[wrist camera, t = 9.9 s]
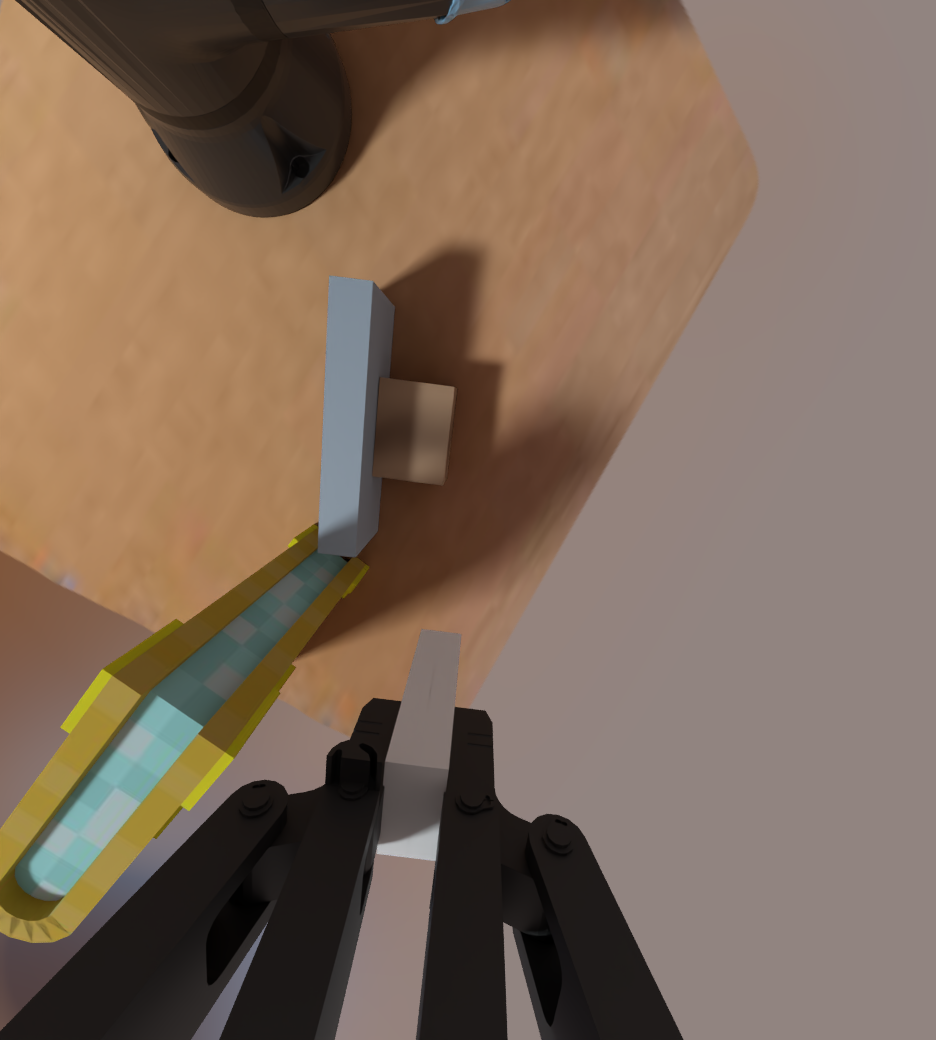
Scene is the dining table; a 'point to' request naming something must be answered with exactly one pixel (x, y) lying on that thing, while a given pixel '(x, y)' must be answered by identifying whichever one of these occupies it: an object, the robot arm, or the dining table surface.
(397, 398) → the brown rectangular block
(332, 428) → the slate board
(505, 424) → the dining table surface
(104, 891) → the yellow rounded trough
